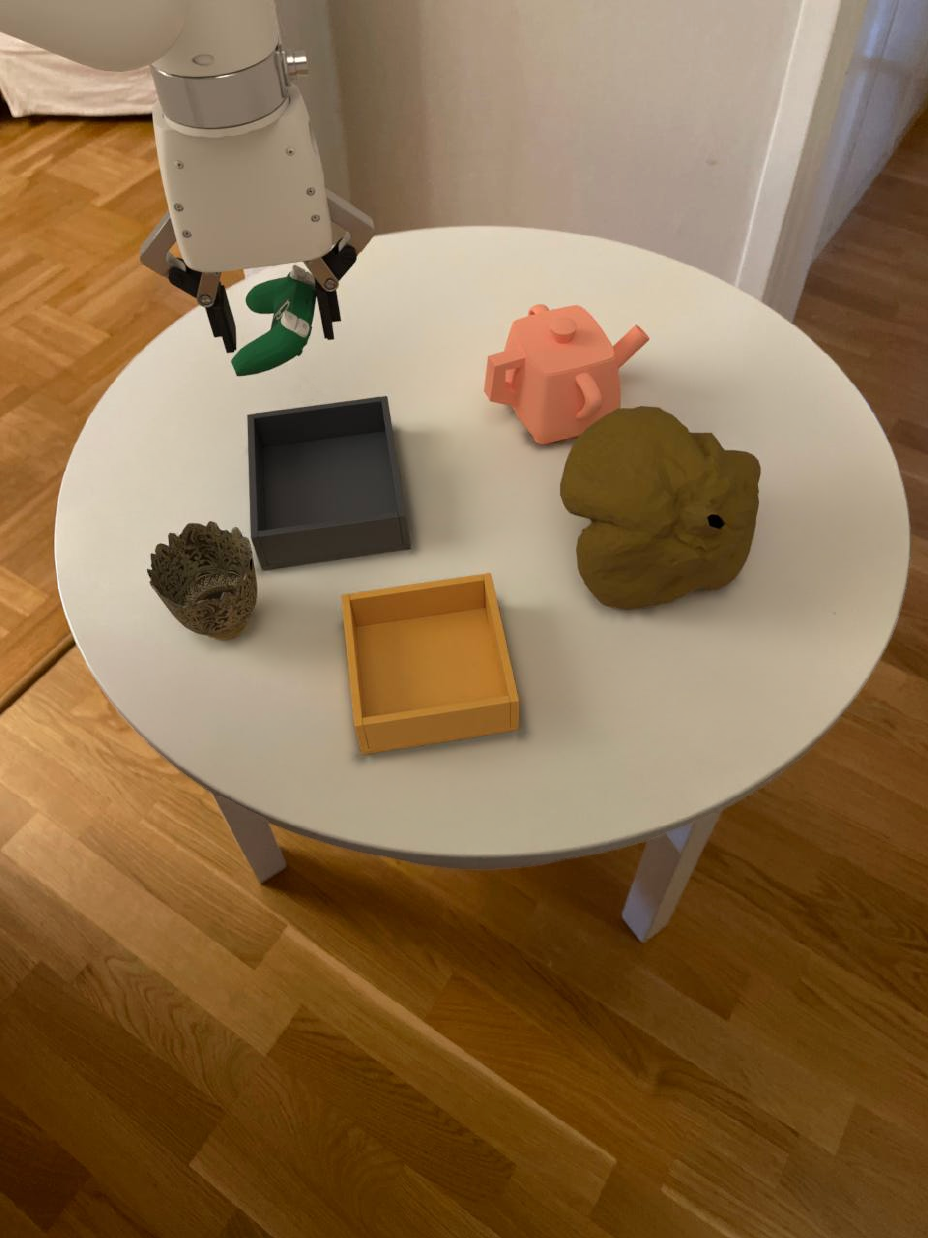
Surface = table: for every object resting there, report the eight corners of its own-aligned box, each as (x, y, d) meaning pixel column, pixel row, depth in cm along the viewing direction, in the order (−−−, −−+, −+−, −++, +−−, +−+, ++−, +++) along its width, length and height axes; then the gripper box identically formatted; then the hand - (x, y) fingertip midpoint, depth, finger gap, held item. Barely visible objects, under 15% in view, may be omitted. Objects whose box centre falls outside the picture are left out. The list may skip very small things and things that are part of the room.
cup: (159, 647, 71) (125, 583, 65) (209, 576, 75) (181, 509, 69) (244, 676, 69) (217, 613, 63) (290, 602, 73) (269, 535, 67)
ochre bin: (361, 755, 65) (354, 726, 62) (348, 626, 72) (340, 594, 68) (518, 730, 66) (519, 700, 63) (491, 605, 72) (490, 572, 69)
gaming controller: (269, 400, 68) (318, 352, 65) (224, 372, 66) (272, 320, 63) (284, 322, 74) (330, 274, 70) (243, 293, 72) (288, 242, 68)
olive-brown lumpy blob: (699, 658, 69) (739, 532, 57) (527, 585, 73) (533, 455, 62) (761, 534, 76) (808, 400, 64) (601, 475, 80) (618, 340, 69)
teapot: (644, 391, 86) (658, 301, 78) (591, 474, 80) (601, 385, 72) (532, 355, 90) (534, 265, 82) (473, 432, 84) (470, 343, 76)
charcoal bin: (261, 570, 75) (250, 537, 72) (257, 448, 84) (246, 414, 80) (411, 549, 76) (406, 515, 73) (392, 430, 84) (387, 395, 81)
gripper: (361, 37, 57) (390, 290, 72) (76, 68, 56) (164, 319, 71) (374, 95, 53) (401, 351, 68) (65, 130, 52) (161, 383, 66)
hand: (279, 333), depth 69 cm, fingers closed on gaming controller, 6 cm apart
